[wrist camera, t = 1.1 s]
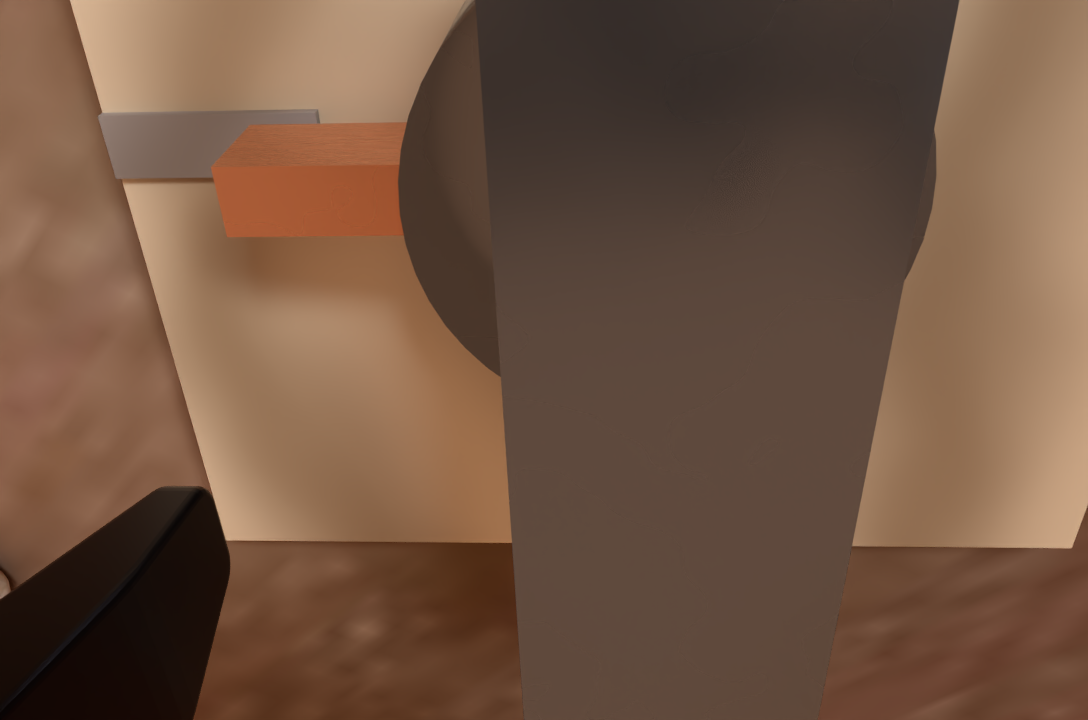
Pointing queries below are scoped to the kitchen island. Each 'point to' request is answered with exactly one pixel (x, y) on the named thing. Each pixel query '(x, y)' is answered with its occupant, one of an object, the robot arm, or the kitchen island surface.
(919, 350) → the beige square board
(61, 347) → the kitchen island surface
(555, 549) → the coupling
